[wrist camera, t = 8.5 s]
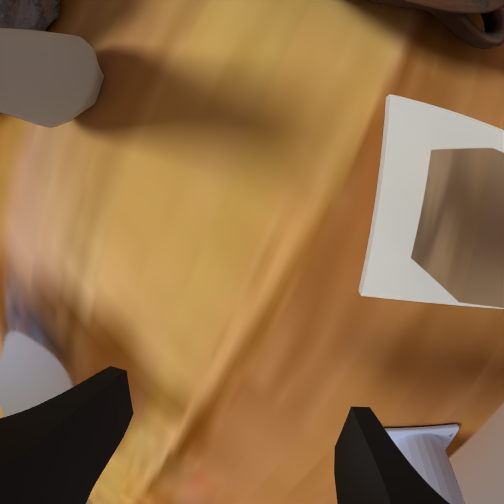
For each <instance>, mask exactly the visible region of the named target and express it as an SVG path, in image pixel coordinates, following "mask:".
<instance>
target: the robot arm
mask: <svg viewBox="0 0 504 504" xmlns="http://www.w3.org/2000/svg"><path fill="white" fill-rule="evenodd" d="M132 416H133V409H132V403H131V397H130V391H129V385H128V378H127V372H126V370H122V369H119V368H115V367H112V366H110V367H108V368H106V369H104V370H102V371H101V372H99V373H97V374H95V375H94V376H92V377H90V378H88V379H87V380H85V381H83V382H82V383H80V384H78V385H76V386H74V387H73V388H71V389H69V390H67V391H66V392H64V393H62V394H60V395H58V396H56V397H54V398H52V399H49V400H47V401H45V402H44V403H41V404H39V405H37V406H35V407H32V408H30V409H28V410H25V411H22V412H20V413H16V414H14V415H11V416H7V417H4V418H0V504H86V502H87V500H88V497H89V495H90V493H91V491H92V489H93V487H94V485H95V483H96V481H97V480H98V478H99V476H100V475H101V473H102V471H103V470H104V468H105V467H106V465H107V463H108V462H109V460H110V458H111V457H112V455H113V454H114V452H115V450H116V449H117V447H118V445H119V444H120V442H121V440H122V438H123V437H124V434H125V432H126V430H127V428H128V425H129V423H130V420H131V418H132ZM458 430H459V426H458V425H457V424H453V425H442V426H430V427H414V428H384V427H383V426H382V424H381V423H380V421H379V420H378V419H377V417H376V416H375V414H374V413H373V411H372V410H371V409H370V407H351V409H350V411H349V414H348V417H347V419H346V422H345V424H344V426H343V429H342V431H341V434H340V436H339V438H338V441H337V443H336V445H335V462H334V474H335V484H336V493H337V502H338V504H465V503H464V500H463V497H462V494H461V491H460V489H459V485H458V483H457V480H456V477H455V475H454V472H453V469H452V467H451V464H450V461H449V459H448V456H447V454H446V451H445V450H446V448H447V447H448V445H449V444H450V442H451V441H452V439H453V438H454V436H455V435H456V433H457V432H458Z"/></svg>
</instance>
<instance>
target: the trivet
mask: <svg viewBox="0 0 504 504" xmlns="http://www.w3.org/2000/svg"><path fill="white" fill-rule="evenodd" d="M462 148H494V149H496V150H499V151H501V152H503V153H504V130H502V129H499V128H497V127H494V126H492V125H489V124H487V123H484V122H481V121H479V120H476V119H473V118H470V117H467V116H465V115H462V114H459V113H456V112H453V111H449V110H446V109H443V108H440V107H437V106H433V105H430V104H426V103H423V102H419V101H415V100H412V99H408V98H404V97H400V96H396V95H391V94H390V95H388V96H387V97H386V106H385V119H384V131H383V142H382V151H381V160H380V169H379V177H378V184H377V192H376V199H375V205H374V212H373V218H372V224H371V230H370V236H369V241H368V246H367V252H366V257H365V262H364V267H363V272H362V277H361V281H360V286H359V292H360V294H361V296H368V297H378V298H387V299H397V300H407V301H417V302H427V303H438V304H449V305H461V306H473V307H485V308H498V309H504V308H500V307H492V306H484V305H476V304H468V303H460V302H458V301H457V300H456V299H455V298H454V297H453V296H452V295H451V294H450V293H449V292H448V291H446V290H445V289H444V288H443V287H442V286H441V285H440V284H439V283H438V282H437V281H436V280H435V279H434V278H433V277H431V276H430V275H429V274H428V273H427V272H426V271H425V270H424V269H423V268H422V267H420V266H419V265H418V264H417V263H416V262H415V261H414V260H413V259H411V254H412V250H413V246H414V242H415V237H416V233H417V228H418V224H419V219H420V214H421V209H422V204H423V198H424V193H425V187H426V181H427V175H428V168H429V161H430V153H431V150H436V149H462Z"/></svg>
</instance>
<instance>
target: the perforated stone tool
mask: <svg viewBox="0 0 504 504" xmlns="http://www.w3.org/2000/svg"><path fill="white" fill-rule="evenodd" d="M59 15H60V8H59V0H0V28H10V29H25V30H37V31H45V30H46V28H47V27H48V26H49V25H50V23H51V22H52V21H54V20H56V19H57V17H58V16H59Z"/></svg>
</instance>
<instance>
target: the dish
mask: <svg viewBox="0 0 504 504" xmlns="http://www.w3.org/2000/svg"><path fill="white" fill-rule="evenodd" d="M368 1H373V2H377V3H382V4H387V5H393V6H399V7H405V8H412V9H419V10H424V11H427V12H429V13H431V14H433V15H434V16H435V17H436V18H438V19H439V20H440V21H441V22H442V23H443V24H445V25H446V26H447V27H448V28H449V29H450V30H451V31H452V32H453V33H454V34H455V35H456V36H458V37H459V38H460V39H461V40H463V41H464V42H465V43H467V44H469V45H470V46H472V47H476V48H481V49H487V48H492V47H496V46H500V45H501V44H502V43H503V42H504V14H503V11H502V7H504V0H368ZM467 14H481V16H482V19H483V21H484V28H485V32H484V31H482V30H480V29H479V28H477V27H476V26H475V25H474V24H472V22H471V21H470V20H469V18H468V17H467Z"/></svg>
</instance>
